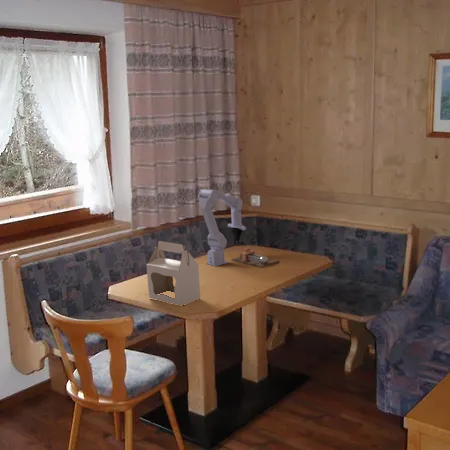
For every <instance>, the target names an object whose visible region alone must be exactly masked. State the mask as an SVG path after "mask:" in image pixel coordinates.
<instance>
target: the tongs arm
mask: <svg viewBox="0 0 450 450" xmlns="http://www.w3.org/2000/svg"><path fill="white" fill-rule="evenodd" d="M248 255H251V256H256V257H262V256H263V255H260V254H256V253H255V254H248Z"/></svg>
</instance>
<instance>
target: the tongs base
mask: <svg viewBox="0 0 450 450" xmlns="http://www.w3.org/2000/svg"><path fill="white" fill-rule="evenodd" d="M240 256H241V259H242V254H241V253H240ZM261 256H262V257H256V256H251V255H246V258H247V261H250V262H254V263H258V264H267V258H268V256H265V255H264V256H263V255H261Z"/></svg>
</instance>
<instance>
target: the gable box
mask: <svg viewBox="0 0 450 450" xmlns="http://www.w3.org/2000/svg"><path fill="white" fill-rule="evenodd" d="M186 248H187V245H184V244H183V243H177V242H171V241H165V240H158V245H157V246H155V247H154V250H153V252H152V253H151V256H150V257H149V259H148V261H147V262H146V272H147V275H146V276H147V289H148V290H147V291H148V298H149V297H150V298H153V299H157V300H161V301H164V302H168V303H173V304H177V305H184V304H187V303H189V302H192V301H194V300H197V299H200V300H201V287H200V285H201V284H200V273H199V272H200V271H199V264H198V262H197V261H196V260H195V258H194V257H193V255H191V253H190V252H189V251H188V250H186ZM164 252H169V253H174V254H180V255H181V257H180V260H178V259H172V258H167V257H166V256H165V253H164ZM174 279H175V284H174ZM166 291H171V292H174V293H175V298H171V297H169V296H167V295H164V294H160V293H163V292H166ZM157 294H160V295H157ZM197 301H198V300H197ZM192 303H193V302H192ZM187 305H188V304H187Z"/></svg>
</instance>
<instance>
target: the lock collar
mask: <svg viewBox="0 0 450 450" xmlns="http://www.w3.org/2000/svg"><path fill="white" fill-rule="evenodd" d="M240 254H242V260H243V261H247V258H246V255H248V254H256V250H253V249H251V247H249V246H248V247H245V248H243V252H240Z"/></svg>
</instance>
